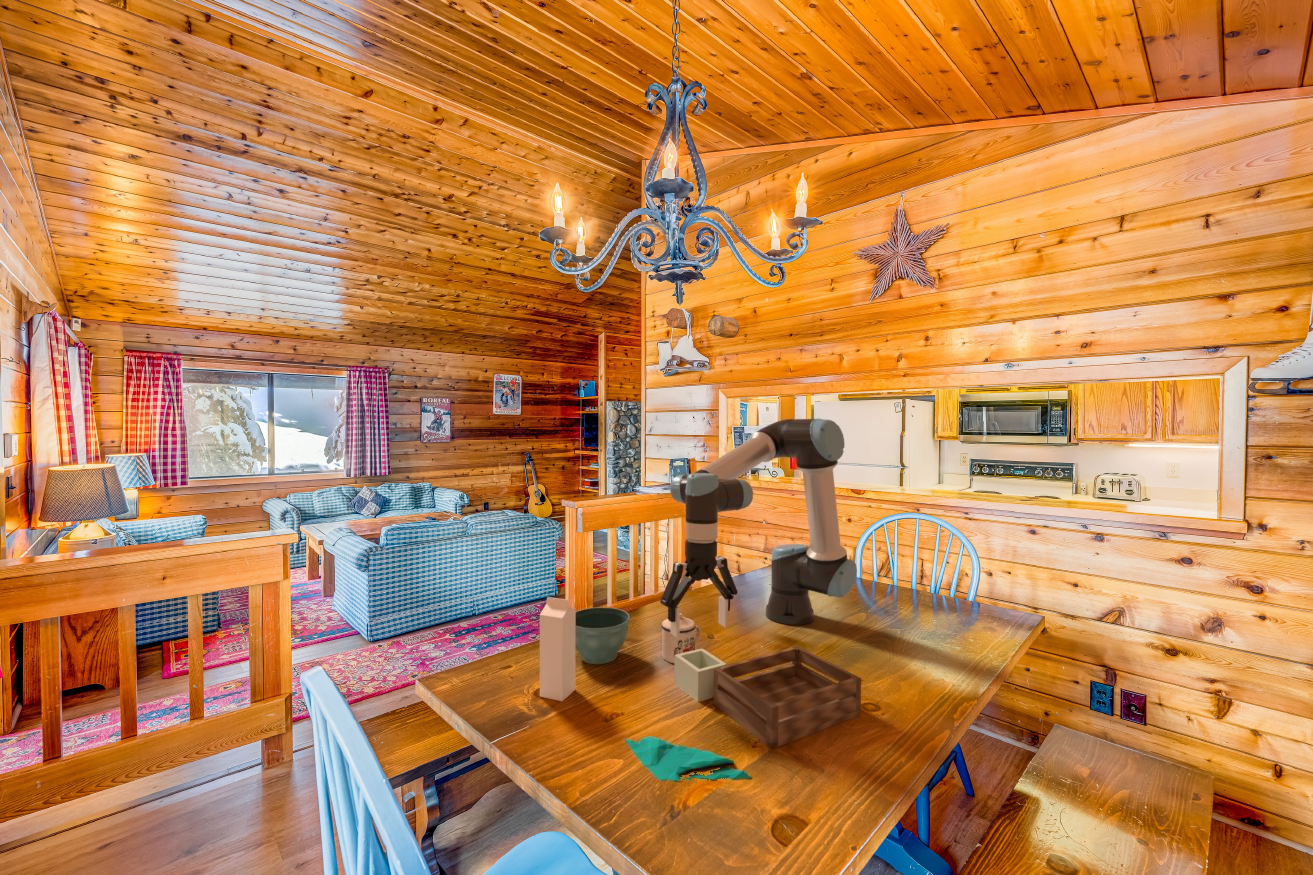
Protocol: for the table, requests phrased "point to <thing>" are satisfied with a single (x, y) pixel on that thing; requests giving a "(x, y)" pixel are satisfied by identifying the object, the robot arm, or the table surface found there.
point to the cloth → (680, 760)
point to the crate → (786, 695)
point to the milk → (557, 649)
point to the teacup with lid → (679, 638)
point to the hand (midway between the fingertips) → (699, 629)
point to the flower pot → (600, 633)
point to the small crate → (696, 673)
